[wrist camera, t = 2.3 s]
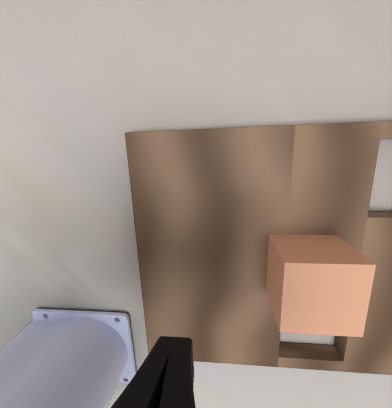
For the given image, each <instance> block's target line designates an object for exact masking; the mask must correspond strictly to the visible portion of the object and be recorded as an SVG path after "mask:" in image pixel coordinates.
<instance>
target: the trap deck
mask: <svg viewBox="0 0 392 408" xmlns="http://www.w3.org/2000/svg"><path fill="white" fill-rule="evenodd" d="M125 138H126V148H127V157H128V166H129V176H130V185H131V194H132V204H133V213H134V222H135V231H136V241H137V250H138V259H139V269H140V278H141V287H142V297H143V306H144V315H145V325H146V334H147V343H148V353H150V351H151V350H152V348H153V346H154V345H155V343H156V341H157V340H158V338H159V337H160V336H170V337H187V338H190V339H192V344H193V361H201V362H215V363H229V364H243V365H257V366H272V367H286V368H300V369H314V370H328V371H343V372H357V373H371V374H385V375H392V211H368V209H369V203H370V197H371V191H372V185H373V179H374V173H375V167H376V161H377V154H378V148H379V142H380V139H392V121H380V122H357V123H333V124H310V125H287V126H264V127H241V128H218V129H195V130H172V131H149V132H126V133H125ZM269 234H279V235H337V236H339V237H340V238H341V239H343V240H344V241H345V242H347V243H348V244H349V245H351V246H352V247H353V248H355V249H356V250H357V251H359V252H360V253H361V254H362V255H364V256H365V257H366V258H368V259H369V260H370V261H372V262H373V263H374V264H376V269H375V274H374V279H373V285H372V290H371V296H370V301H369V307H368V312H367V317H366V323H365V328H364V334H363V337H350V336H336V337H335V344H334V345H320V344H303V343H285V342H280V332H279V329H278V325H277V322H276V319H275V316H274V313H273V310H272V307H271V304H270V300H269V297H268V294H267V291H266V284H267V264H268V244H269Z"/></svg>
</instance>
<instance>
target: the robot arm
mask: <svg viewBox="0 0 392 408" xmlns="http://www.w3.org/2000/svg"><path fill="white" fill-rule="evenodd" d="M31 315H32V319H33V321H32V322H31V323H30V324H29V325H28V326H27V327H25V328H24V329H23V330H22V331H21V332H20V333H19V334H18V335H17V336H16V337H15V338H14V339H13V340H12V341H10V342H9V343H8V344H7V345H6V346H5V347H4V348H3V349H2V350H1V351H0V408H107V407H108V405H109V402H110V400H111V398H112V395H113V393H114V391H115V388H116V386H117V384H118V383H126V384H128V385H127V387H126V388H125V390H124V391H123V392H122V394H121V395H120V396H119V398H118V399H117V400H116V402H115V403H114V404H113V406H112V407H111V408H195V401H194V393H193V381H194V366H193V344H192V339H190V338H187V337H170V336H160V337H159V338H158V340H157V341H156V343H155V345H154V346H153V348H152V350H151V351H150V353H149V354H148V356H147V358H146V359H145V361H144V362H143V364H142V365H141V367H140V368H139V370H138V371H137V373H136V367H135V359H134V352H133V344H132V336H131V328H130V320H129V316H128V315H127V314H126V313H117V312H97V311H76V310H55V309H35V310H34V311H33V312H32V313H31ZM117 318H119V319H117Z"/></svg>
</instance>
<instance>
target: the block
mask: <svg viewBox="0 0 392 408" xmlns="http://www.w3.org/2000/svg"><path fill="white" fill-rule="evenodd" d="M375 269H376V264H374V263H373V262H372V261H370V260H369V259H368V258H366V257H365V256H364V255H362V254H361V253H360V252H359V251H357V250H356V249H355V248H353V247H352V246H351V245H349V244H348V243H347V242H345V241H344V240H343V239H341V238H340V237H339V236H337V235H279V234H269V244H268V264H267V284H266V291H267V294H268V297H269V300H270V304H271V307H272V310H273V313H274V316H275V319H276V322H277V325H278V329H279V332H280V333H295V334H313V335H332V336H350V337H363V334H364V328H365V323H366V317H367V312H368V307H369V301H370V296H371V290H372V285H373V279H374V274H375Z"/></svg>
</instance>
